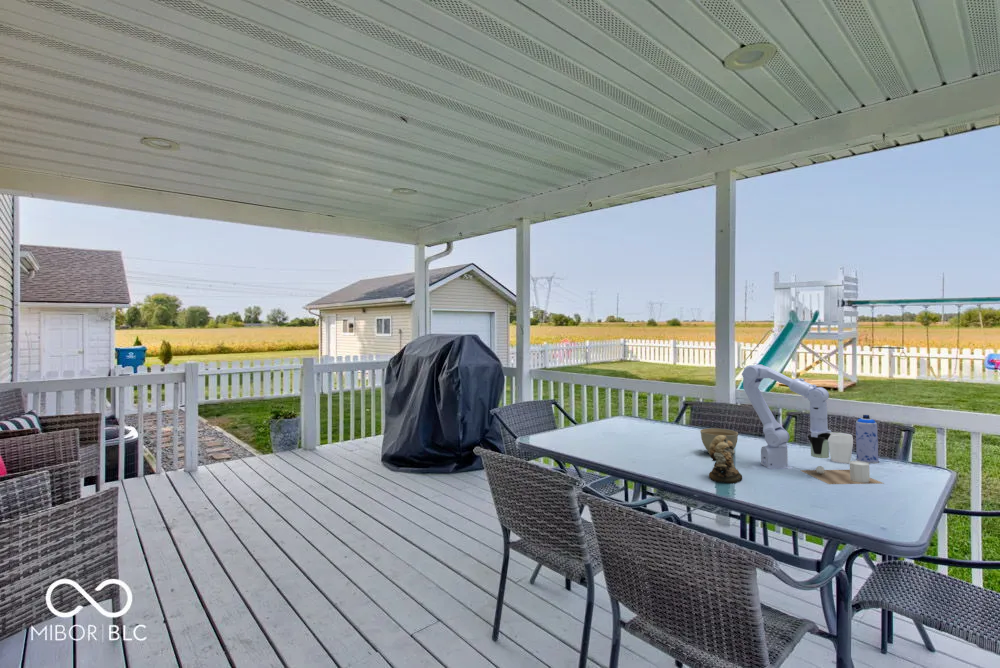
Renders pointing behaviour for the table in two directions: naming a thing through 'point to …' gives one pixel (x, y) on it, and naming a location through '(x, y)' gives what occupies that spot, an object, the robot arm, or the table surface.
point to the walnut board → (837, 477)
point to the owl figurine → (723, 461)
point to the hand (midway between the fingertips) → (819, 452)
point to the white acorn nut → (859, 471)
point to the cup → (840, 447)
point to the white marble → (820, 469)
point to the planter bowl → (711, 433)
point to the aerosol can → (867, 440)
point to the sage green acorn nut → (824, 450)
